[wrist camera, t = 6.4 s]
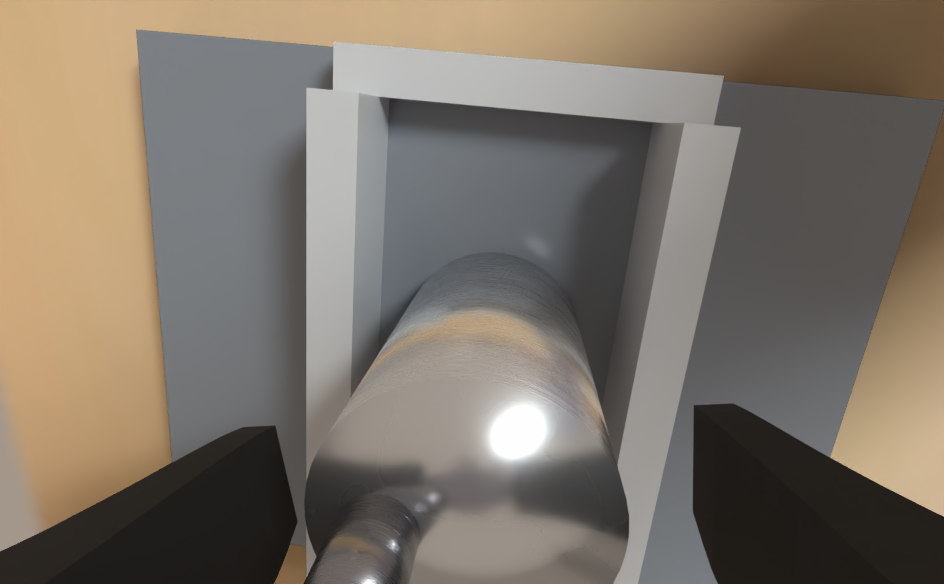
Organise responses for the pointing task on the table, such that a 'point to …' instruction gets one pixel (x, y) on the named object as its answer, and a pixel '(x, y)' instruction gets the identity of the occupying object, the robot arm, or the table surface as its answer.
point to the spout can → (472, 445)
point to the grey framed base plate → (519, 239)
